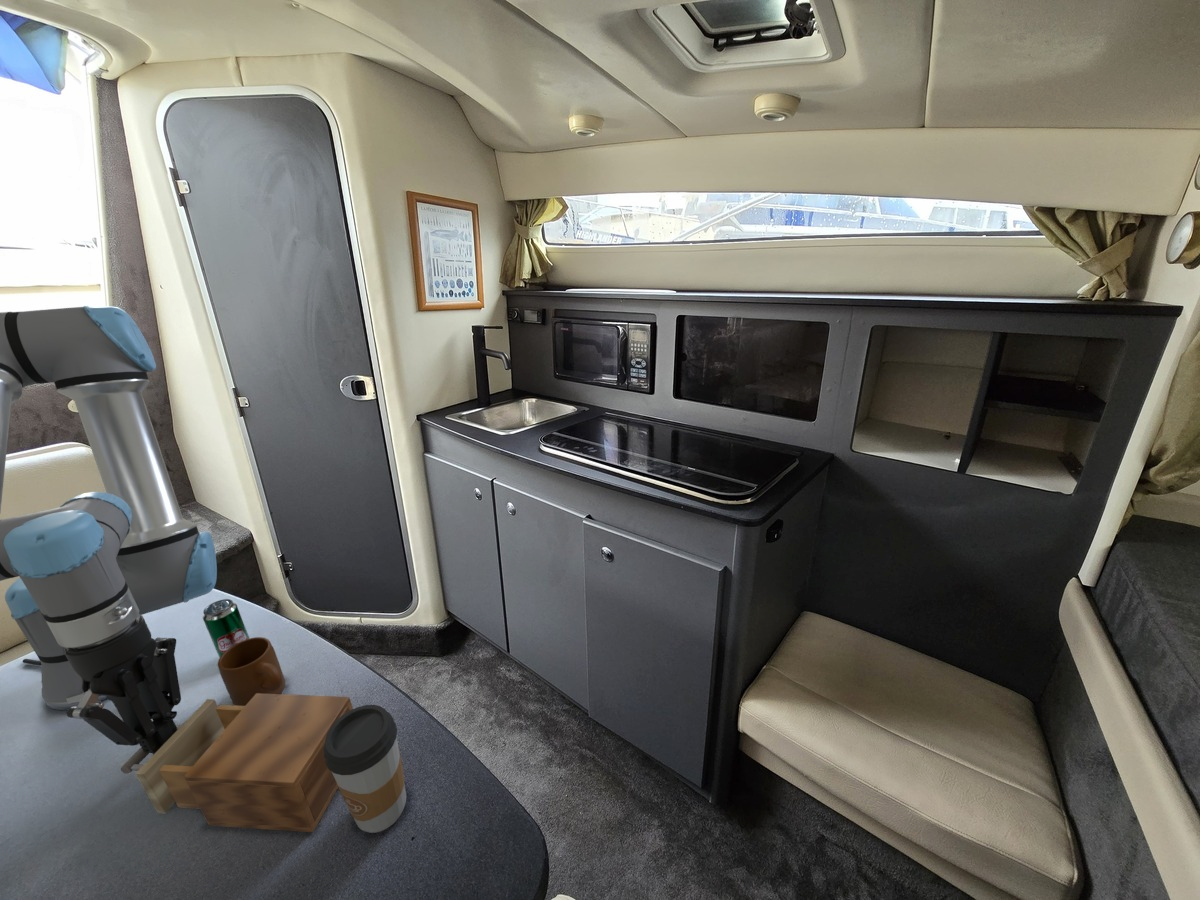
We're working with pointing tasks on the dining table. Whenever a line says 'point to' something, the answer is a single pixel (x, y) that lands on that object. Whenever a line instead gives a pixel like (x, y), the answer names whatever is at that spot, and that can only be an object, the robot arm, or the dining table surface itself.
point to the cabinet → (270, 765)
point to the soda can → (224, 625)
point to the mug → (251, 670)
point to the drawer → (180, 756)
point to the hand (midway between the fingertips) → (170, 758)
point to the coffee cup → (367, 766)
